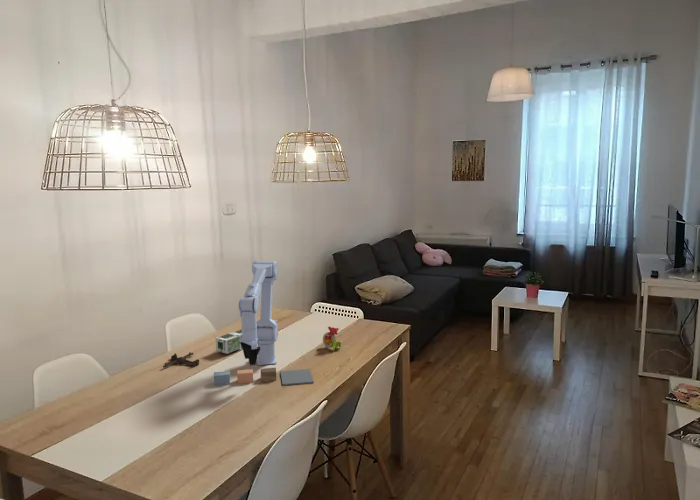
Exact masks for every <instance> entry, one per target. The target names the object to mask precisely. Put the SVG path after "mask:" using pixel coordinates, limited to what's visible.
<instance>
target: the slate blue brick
mask: <svg viewBox="0 0 700 500" xmlns="http://www.w3.org/2000/svg"><path fill="white" fill-rule="evenodd" d="M230 384H231V372H230V370H226V371H214V372H213V386H222V385H230Z"/></svg>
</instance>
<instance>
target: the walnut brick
mask: <svg viewBox="0 0 700 500" xmlns="http://www.w3.org/2000/svg"><path fill="white" fill-rule="evenodd" d="M260 381H261V382H271V381H272V382H273V381H277V369H276V367H267V368H266V367H265V368H260Z"/></svg>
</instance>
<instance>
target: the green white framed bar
mask: <svg viewBox="0 0 700 500" xmlns="http://www.w3.org/2000/svg"><path fill="white" fill-rule="evenodd" d="M272 320H273V321H275V322H276V323H277V325H278V324H279V323H278V320H276V319H275V320H274V319H272ZM278 326H279V325H278ZM260 327H271V326H260ZM239 339H242V329H239V330H236V331H233V332H228V333H226V334H224V335H221V336H217V337H215V349H216V350H215V351H216V352H219V353H223V354H230V353H232V352H234V351H237V350H238V351H243V349H242V346H241V344H240V342H239Z"/></svg>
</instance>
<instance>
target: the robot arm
mask: <svg viewBox="0 0 700 500" xmlns="http://www.w3.org/2000/svg"><path fill="white" fill-rule="evenodd" d="M278 268H279V267H278V262H277V261H276V260H256V259H255V260H253V262H252V264H251V273H252V275H253V277H252V280H251V283H249V284H248V285H247V288H246V290H245V292H244V295H243V296H241V297H240V299H239V300H238V311H239V316H240V318H241V320H240V321H241V330H242V339H239V342H240V344H241V346H242V353H243V356H244V360H247V359H248V364H249V366H256V365H258V366H261V365H262V366H265V365H275V364H276V365H277V359H276V354H275V351H276V350H275V349H276V348H275V347H276V346H275V342H277V340H278V338H279V325H277V323H276V322H275V321H276V320H275V321H273V320H274V319H272V315H273V313H272V312H273V289H274V287H273V285H274V281H277V279H278V273H279V271H278V270H279V269H278ZM260 296H261V297H260ZM259 299H260V300H259ZM259 302H260V304H259ZM259 305H260V317H259V318H260V319H257V312H258V310H259ZM260 326H271V327H260Z"/></svg>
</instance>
